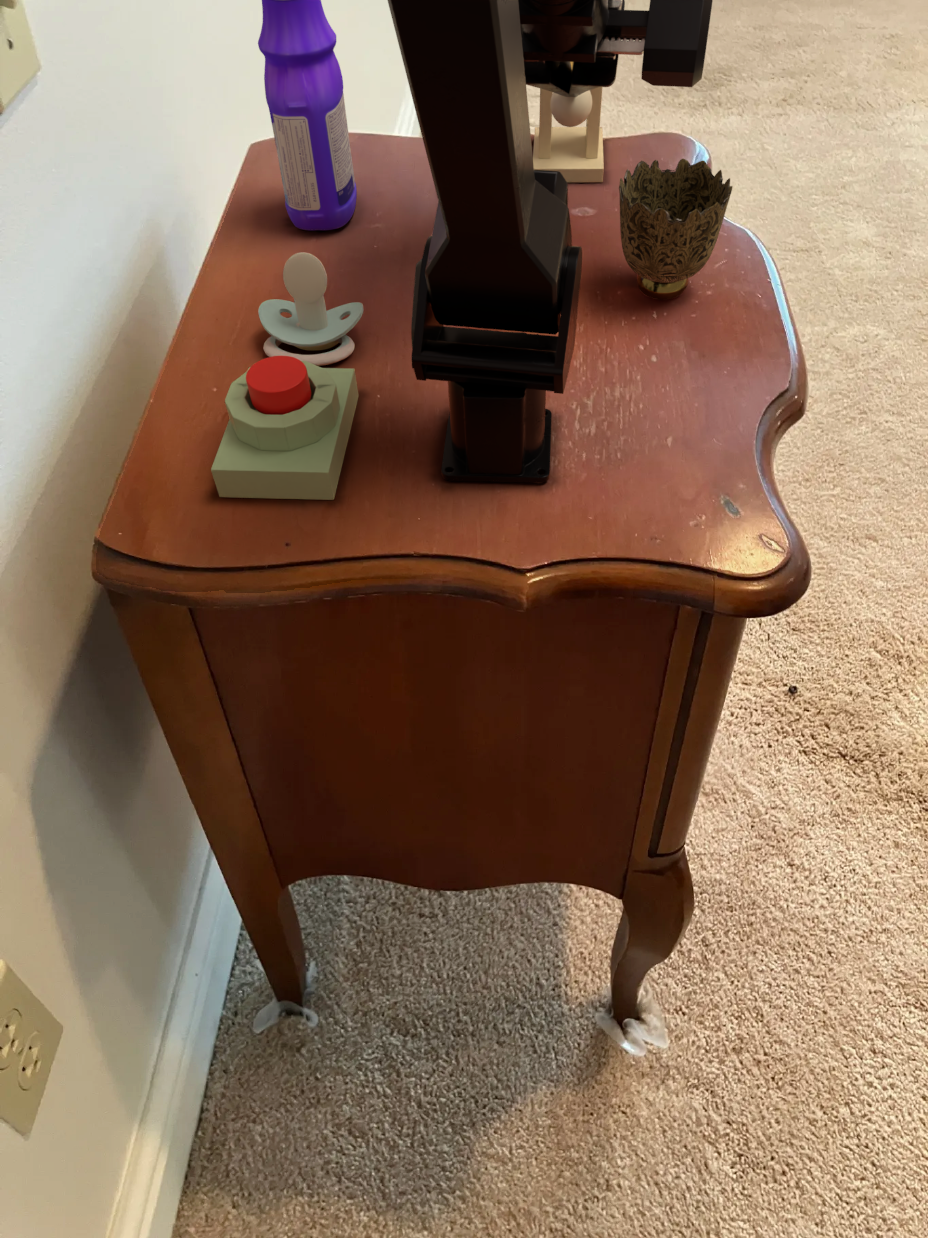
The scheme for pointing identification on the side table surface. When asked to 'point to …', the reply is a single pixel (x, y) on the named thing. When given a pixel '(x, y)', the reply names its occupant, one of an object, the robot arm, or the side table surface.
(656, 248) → the cup
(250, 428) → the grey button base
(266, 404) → the alarm button
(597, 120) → the egg display stand
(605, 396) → the side table surface
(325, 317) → the pacifier
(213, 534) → the side table surface
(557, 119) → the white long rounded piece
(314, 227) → the bottle
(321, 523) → the side table surface
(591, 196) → the side table surface
